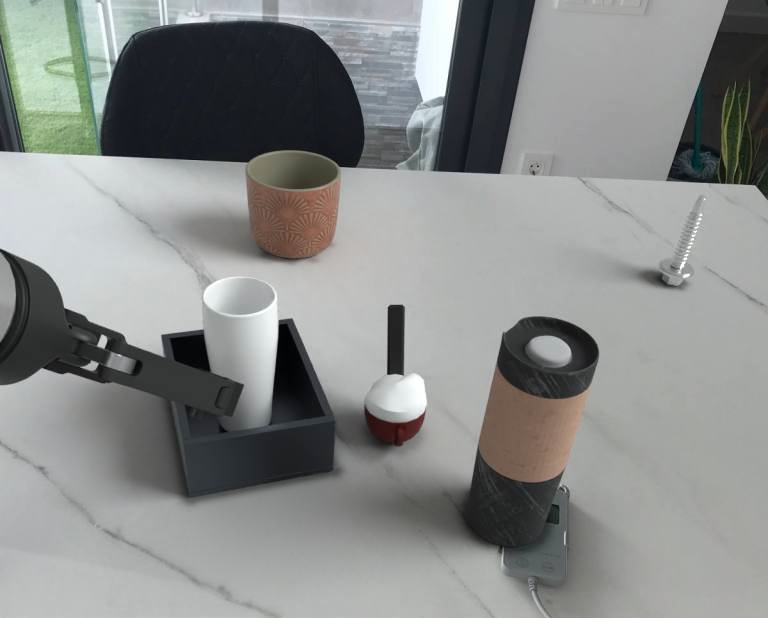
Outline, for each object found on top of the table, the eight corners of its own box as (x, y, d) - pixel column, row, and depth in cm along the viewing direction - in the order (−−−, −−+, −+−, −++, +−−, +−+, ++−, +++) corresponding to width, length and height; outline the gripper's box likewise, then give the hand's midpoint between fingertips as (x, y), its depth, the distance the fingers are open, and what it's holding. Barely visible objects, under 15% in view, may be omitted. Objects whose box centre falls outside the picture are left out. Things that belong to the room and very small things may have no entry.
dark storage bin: (167, 384, 82) (160, 334, 78) (292, 366, 86) (292, 317, 82) (189, 497, 70) (183, 445, 66) (333, 470, 75) (336, 419, 70)
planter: (346, 229, 112) (350, 157, 105) (326, 273, 102) (329, 196, 95) (263, 216, 113) (261, 144, 106) (235, 258, 103) (232, 181, 96)
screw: (667, 292, 105) (647, 273, 109) (696, 288, 107) (676, 270, 110) (699, 204, 97) (676, 187, 101) (730, 201, 99) (707, 185, 102)
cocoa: (410, 466, 76) (424, 370, 68) (350, 450, 77) (356, 353, 69) (434, 407, 83) (448, 314, 75) (378, 393, 84) (387, 300, 76)
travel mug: (555, 549, 69) (614, 375, 57) (471, 550, 68) (512, 373, 56) (535, 486, 75) (585, 315, 62) (457, 486, 74) (492, 313, 62)
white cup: (221, 450, 75) (211, 322, 65) (203, 407, 79) (192, 281, 70) (288, 434, 77) (288, 309, 68) (267, 393, 82) (264, 270, 72)
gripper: (-227, 306, 45) (21, 368, 65) (128, 451, 38) (281, 469, 59) (-177, 186, 45) (54, 285, 66) (182, 309, 39) (315, 377, 59)
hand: (161, 372), depth 62 cm, fingers open, 13 cm apart
